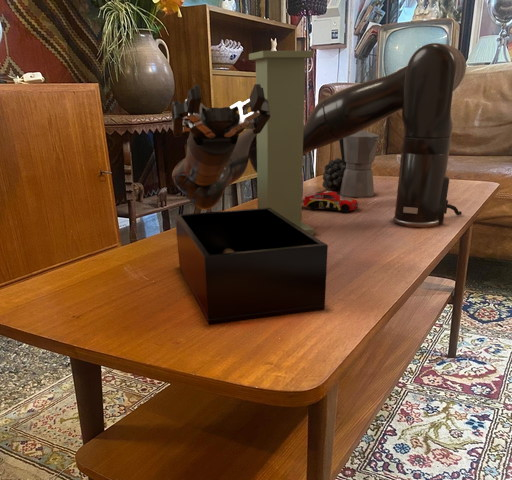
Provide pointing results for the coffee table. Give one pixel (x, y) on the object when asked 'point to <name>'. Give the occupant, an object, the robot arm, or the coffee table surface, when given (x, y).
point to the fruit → (333, 175)
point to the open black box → (250, 264)
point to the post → (282, 133)
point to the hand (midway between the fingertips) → (228, 90)
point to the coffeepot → (358, 164)
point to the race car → (330, 201)
